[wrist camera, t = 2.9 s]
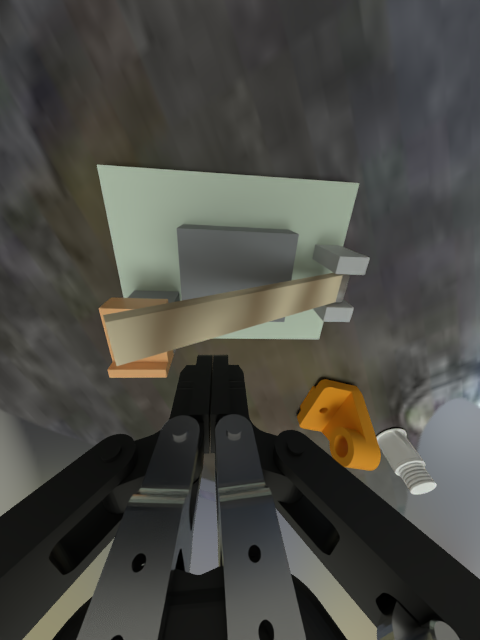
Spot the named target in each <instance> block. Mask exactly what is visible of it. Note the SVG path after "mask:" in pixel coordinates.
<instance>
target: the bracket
mask: <svg viewBox="0 0 480 640" xmlns="http://www.w3.org/2000/svg"><path fill="white" fill-rule="evenodd" d="M300 408H301V411H300V412H299V414H298V416H297V419H298V422H299V425H300V427H301V428H304V429H310V430H315V431H321V432H322V433H323V434H324V435H325V436H326V437H327V438H328V440H329V441H330V451H331V454H332V457H333V459H335V460H336V461H337V462H338V463H340V464H341V465H342V466H343V467H348V468H355V469H362V470H369V471H371V470H374V469H376V468H377V467H378V465H379V463H380V457H381V454H380V448H379V445H378V441H377V438H376V435H375V432H374V429H373V426H372V423H371V420H370V417H369V414H368V411H367V408H366V405H365V401H364V398H363V395H362V393H361V392H360V390H359V389H358V388H357V386H353V385H349V384H344V383H340V382H336V381H331V380H327V379H324V380H321V381H320V382H319V383H318V385H317V386H313V387H312V388H311V390H310V392H309V393H308V395H307V396H306V398H305V399H304V401H303V403H302V404H301V406H300Z"/></svg>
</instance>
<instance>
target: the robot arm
mask: <svg viewBox="0 0 480 640" xmlns="http://www.w3.org/2000/svg"><path fill="white" fill-rule="evenodd" d="M210 427H211V453H215V484H216V485H215V486H216V508H217V529H218V563H219V567H217V568H215V569H213V570H211V571H209V572H206V573H204V574H202V575H194V574H191V573H189V571H190V564H191V554H192V540H193V531H194V524H195V516H196V510H197V503H198V496H199V489H200V482H201V474H202V469H203V458H204V453H209V447H210ZM275 508H276V509H277V510H278V511H279V513H280V514H281V515H282V516H283V517H284V518H285V520H286V521H287V522H288V523H289V524H290V525H291V527H292V528H293V529H294V530H295V531H296V533H297V534H298V535H299V536H300V537H301V538H302V540H303V541H304V542H305V543H306V544H307V546H308V547H309V548H310V549H311V550H312V551H313V553H314V554H315V555H316V556H317V557H318V559H319V560H320V561H321V562H322V563H323V565H324V566H325V567H326V568H327V569H328V570H329V572H330V573H331V574H332V575H333V576H334V578H335V579H336V580H337V581H338V582H339V584H340V585H341V586H342V587H343V588H344V589H345V591H346V592H347V593H348V594H349V595H350V597H351V598H352V599H353V600H354V601H355V602H356V604H357V605H358V606H359V607H360V608H361V610H362V611H363V612H364V613H365V614H366V615H367V617H368V618H369V619H370V620H371V621H372V623H373V624H374V625H375V626H376V627H377V640H480V579H479V578H478V577H476V576H475V575H474V574H473V573H471V572H470V571H469V570H468V569H467V568H465V567H464V566H463V565H462V564H461V563H459V562H458V561H457V560H456V559H454V558H453V557H452V556H451V555H450V554H448V553H447V552H446V551H445V550H444V549H442V548H441V547H440V546H439V545H437V544H436V543H435V542H434V541H433V540H432V539H430V538H429V537H428V536H427V535H425V534H424V533H423V532H422V531H421V530H419V529H418V528H417V527H416V526H415V525H413V524H412V523H411V522H410V521H409V520H407V519H406V518H405V517H404V516H402V515H401V514H400V513H399V512H398V511H396V510H395V509H394V508H393V507H392V506H390V505H389V504H388V503H387V502H386V501H384V500H383V499H382V498H381V497H379V496H378V495H377V494H376V493H375V492H373V491H372V490H371V489H370V488H369V487H367V486H366V485H365V484H364V483H363V482H361V481H360V480H359V479H358V478H356V477H355V476H354V475H353V474H352V473H350V472H349V471H348V470H347V469H346V468H344V467H343V466H342V465H341V464H340V463H338V462H337V461H336V460H335V459H333V458H332V457H331V456H330V455H329V454H327V453H326V452H325V451H324V450H323V449H321V448H320V447H319V446H318V445H317V444H315V443H314V442H313V441H312V440H310V439H309V438H308V437H307V436H306V435H304V434H303V433H301V432H298V431H295V430H286V431H283V432H281V433H280V434H279V435H278V436H276V435H273V434H269V433H266V432H263V431H261V430H259V429H258V428H256V427H255V426H254V425H253V423H252V422H251V420H250V418H249V413H248V405H247V397H246V389H245V382H244V373H243V371H242V369H241V368H240V367H239V365H228V355H214V357H213V356H212V355H198V357H197V363H196V365H186V367H185V368H184V369H183V370H182V371H181V373H180V377H179V382H178V385H177V390H176V394H175V398H174V402H173V406H172V411H171V415H170V418H169V420H168V421H167V422H166V423H165V424H164V426H163V427H162V429H161V430H160V431H158V432H157V433H155V434H153V435H151V436H148V437H145V438H142V439H139V440H136V441H134V440H133V439H132V437H130V436H128V435H125V434H116V435H112V436H110V437H107V438H105V439H104V440H102V441H101V442H99V443H98V444H97V445H95V446H94V447H93V448H92V449H90V450H89V451H87V452H86V453H85V454H83V455H82V456H81V457H79V458H78V459H77V460H75V461H74V462H73V463H71V464H70V465H69V466H67V467H66V468H65V469H63V470H62V471H61V472H59V473H58V474H57V475H55V476H54V477H53V478H51V479H50V480H49V481H47V482H46V483H44V484H43V485H42V486H40V487H39V488H38V489H37V490H35V491H34V492H33V493H31V494H30V495H28V496H27V497H26V498H25V499H23V500H22V501H20V502H19V503H18V504H16V505H15V506H14V507H12V508H11V509H10V510H9V511H7V512H6V513H4V514H3V515H2V516H1V517H0V640H22V639H23V638H24V637H25V636H26V635H27V634H28V633H29V631H30V630H31V629H32V628H33V627H34V626H35V625H36V624H37V623H38V621H39V620H40V619H41V618H42V617H43V616H44V615H45V614H46V612H48V610H49V609H50V608H51V607H52V606H53V605H54V604H55V603H56V601H57V600H58V599H59V598H60V597H61V596H62V595H63V593H65V591H66V590H67V589H68V588H69V587H70V586H71V585H72V584H73V583H74V582H75V580H76V579H77V578H78V577H79V576H80V575H81V574H82V573H83V572H84V570H85V569H86V568H87V567H88V566H89V565H90V564H91V563H92V562H93V560H94V559H95V558H96V557H97V556H98V555H99V554H100V553H101V552H102V550H103V549H104V548H105V547H106V546H107V545H108V544H109V543H110V542H111V541H112V539H113V538H114V537H115V538H114V541H113V543H112V546H111V549H110V551H109V554H108V557H107V559H106V562H105V565H104V567H103V570H102V573H101V576H100V578H99V581H98V583H97V586H96V589H95V591H94V594H93V596H92V597H91V598H90V599H89V600H88V601H87V602H86V603H85V604H83V605H82V606H81V607H80V608H79V609H78V610H77V611H76V612H75V613H74V615H73V616H72V617H71V618H70V619H69V620H68V621H67V622H66V623H65V624H64V626H63V627H62V628H61V629H60V631H59V632H58V633H57V634H56V636H55V637H54V638H53V639H52V640H347V639H346V637H345V636H344V634H343V633H342V632H341V630H340V629H339V628H338V626H337V625H336V623H335V622H334V621H333V619H332V618H331V616H330V615H329V614H328V612H327V611H326V609H325V608H324V607H323V605H322V604H321V603H320V601H319V600H318V599H317V597H316V596H315V595H314V594H313V593H312V592H311V591H310V589H309V588H308V587H307V586H306V585H305V584H304V583H302V582H301V581H300V580H299V579H298V578H296V577H295V576H294V575H292V574H291V573H290V568H289V564H288V560H287V555H286V551H285V547H284V543H283V539H282V534H281V530H280V526H279V522H278V518H277V513H276V509H275Z"/></svg>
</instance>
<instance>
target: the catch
mask: <svg viewBox="0 0 480 640" xmlns="http://www.w3.org/2000/svg"><path fill="white" fill-rule="evenodd" d="M166 303H168V299H148V298H110V299H109V300H108V301H107V302H105V303H104V304H103V305H102V306H101V307H100V308H99V311H100V315H101V319H102V323H103V326H104V330H105V334H106V338H107V342H108V345H109V349H110V353H111V357H112V361H113V362H112V364H111V365H110V367H109V368H108V373H109V377H110V378H134V377H167V375H168V371H169V368H170V365H171V362H172V359H173V356H174V353H173V350H171V351H167V352H164V353H161V354H157V355H154V356H150V357H147V358H144V359H140V360H137V361H133V362H130V363H126V364H123V365H120V366H116V362H115V359H114V355H113V351H112V348H111V344H110V340H109V336H108V332H107V328H106V324H105V320H104V316H103V315H106V314H112V313H117V312H122V311H128V310H133V309H139V308H144V307H150V306H155V305H161V304H166Z"/></svg>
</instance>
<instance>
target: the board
mask: <svg viewBox="0 0 480 640" xmlns="http://www.w3.org/2000/svg"><path fill="white" fill-rule="evenodd" d="M97 168H98V173H99V178H100V183H101V188H102V193H103V198H104V203H105V208H106V213H107V218H108V223H109V228H110V233H111V238H112V243H113V248H114V253H115V258H116V262H117V267H118V272H119V277H120V282H121V287H122V292H123V297H124V298H148V299H168V303H171V302H177V301H182V300H188V299H193V298H199V297H204V296H210V295H215V294H220V293H226V292H231V291H237V290H242V289H248V288H253V287H258V286H264V285H269V284H275V283H280V282H286V281H291V280H297V279H302V278H307V277H313V276H318V275H324V274H329V273H335V274H349V275H365V272H366V269H367V266H368V263H369V259H370V258H369V257H367V256H364V255H362V254H359V253H357V252H354V251H352V250H349V249H347V248H344V247H343V245H344V241H345V237H346V233H347V229H348V225H349V222H350V218H351V214H352V210H353V206H354V202H355V198H356V195H357V191H358V187H359V183H349V182H335V181H321V180H307V179H293V178H279V177H265V176H251V175H236V174H222V173H208V172H194V171H180V170H166V169H152V168H138V167H124V166H109V165H97ZM353 309H354V308H353V307H352V306H351V305H350V304H349V303H347V302H346V301H345V300H344V299H343V301H342V302H334V303H331V304H327V305H324V306H320V307H317V308H314V309H310V310H307V311H303V312H300V313H297V314H293V315H290V316H286V317H283V318H280V319H276V320H273V321H269V322H266V323H263V324H259V325H256V326H252V327H249V328H246V329H242V330H239V331H235V332H232V333H229V334H225V335H222V336H218V337H215V338H237V339H319V337H320V333H321V330H322V326H323V322H324V321H326V322H350V319H351V316H352V312H353ZM173 353H175V349H174V350H173Z"/></svg>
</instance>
